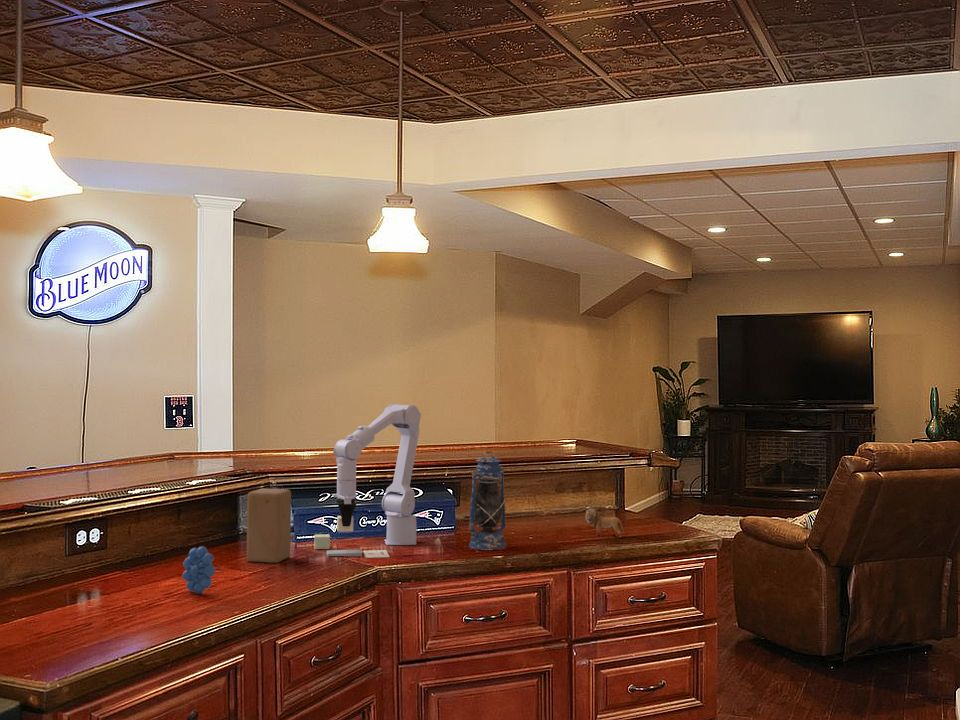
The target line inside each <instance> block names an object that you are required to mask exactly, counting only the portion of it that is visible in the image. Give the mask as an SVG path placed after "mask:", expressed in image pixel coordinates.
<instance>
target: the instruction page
mask: <svg viewBox="0 0 960 720" xmlns="http://www.w3.org/2000/svg"><path fill="white" fill-rule="evenodd" d="M362 553H363V554H364V555H363V556H364V557H365V559H369V558H370V559H374V558H377V559H378V558H380V559H381V558H391V557H390V555H389V553H388V551H387V550H386V549H381V550H380V549H379V550H378V549H374V550H362Z"/></svg>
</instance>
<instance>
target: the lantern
mask: <svg viewBox="0 0 960 720" xmlns="http://www.w3.org/2000/svg"><path fill="white" fill-rule="evenodd" d="M489 453H490V457H487V455H488V454H489ZM475 461H476V462H477V465H476V467H475V469H474V470H472V472H471V475H472V480H471V481H472V482H471V483H472V484H471V494H470V506H469V507H470V510H469V523H468V524H469V525H468V532H469V534H470V536H471V537H470V541H469V544H468V545H469V547H471V548H474V549H481V550H493V549H500V548H504V547H505V546H507V544H506V541H505V534H503V533H502V532H503V531H504V530H505V528H506V523H507V522H506V504H505V503H506V499H505V478H504V476H505V475H504V473H505V468H504V467H503V466H500V462H501V461H502V460H501V459H499V458H498V457H496V456H494V455H493V452H492V451H485V453H484V456H482V457H479V458H478V459H476V460H475ZM498 480H499V486H498ZM477 481H478V487H477ZM475 521H476V523H477V524H476V527H477V528H479V529H478V531H476V530H475V527H474V526H475ZM499 522H500V526H499V525H498V523H499ZM480 528H481V529H480ZM495 528H496V529H495Z"/></svg>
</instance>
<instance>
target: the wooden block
mask: <svg viewBox="0 0 960 720" xmlns="http://www.w3.org/2000/svg"><path fill="white" fill-rule="evenodd" d="M246 499H247V500H246V501H247V503H246V504H247V506H246V509H247V510H246V511H247V512H246V561H248V562H250V563H265V562H266V563H268V564H277V563H280V562H281V561H284V560H286V559H287V558H290V556H291V532H292V531H291V527H292V526H291V525H292V523H291V522H292V521H291V519H292V517H291V516H292V515H291V514H292V512H291V511H292V491H291V490H290V489H285V488H283V489H282V488H281V489H280V488H259V489H256V490H252V491H249V492H248V493H247V498H246Z"/></svg>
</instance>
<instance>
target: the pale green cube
mask: <svg viewBox="0 0 960 720" xmlns="http://www.w3.org/2000/svg"><path fill="white" fill-rule="evenodd" d="M315 549H331V536H330V534H329V533H327V534H325V533H323V534H318V533H317V534H314V550H315Z"/></svg>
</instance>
